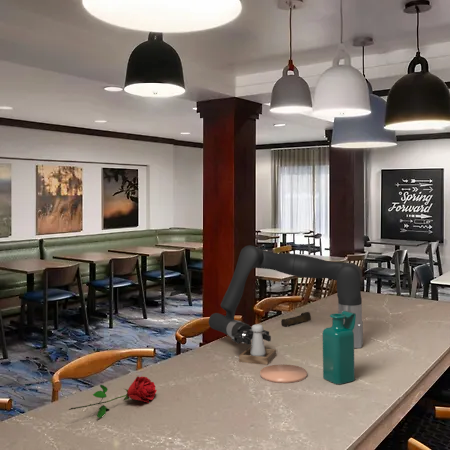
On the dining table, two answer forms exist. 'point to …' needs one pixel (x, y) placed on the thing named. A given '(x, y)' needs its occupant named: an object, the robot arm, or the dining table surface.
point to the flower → (128, 393)
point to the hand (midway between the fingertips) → (260, 340)
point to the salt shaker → (257, 341)
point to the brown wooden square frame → (257, 357)
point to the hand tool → (296, 319)
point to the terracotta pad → (283, 373)
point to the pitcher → (339, 349)
